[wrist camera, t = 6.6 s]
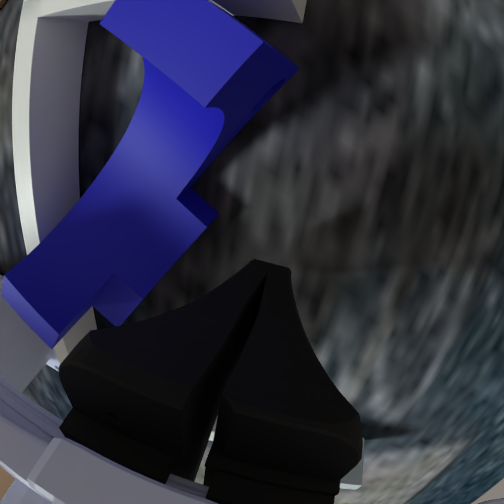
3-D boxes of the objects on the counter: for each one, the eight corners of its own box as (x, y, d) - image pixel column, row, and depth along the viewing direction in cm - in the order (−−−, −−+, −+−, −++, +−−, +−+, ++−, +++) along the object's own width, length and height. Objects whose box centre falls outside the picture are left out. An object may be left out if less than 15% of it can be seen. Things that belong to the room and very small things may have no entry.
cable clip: (148, 291, 16) (80, 376, 10) (85, 230, 15) (1, 295, 10) (332, 99, 10) (334, 104, 5) (234, 17, 9) (143, -37, 4)
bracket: (88, 347, 19) (64, 376, 17) (73, 1, 9) (24, -5, 7) (227, 401, 18) (213, 441, 16) (308, -7, 8) (298, -39, 5)
